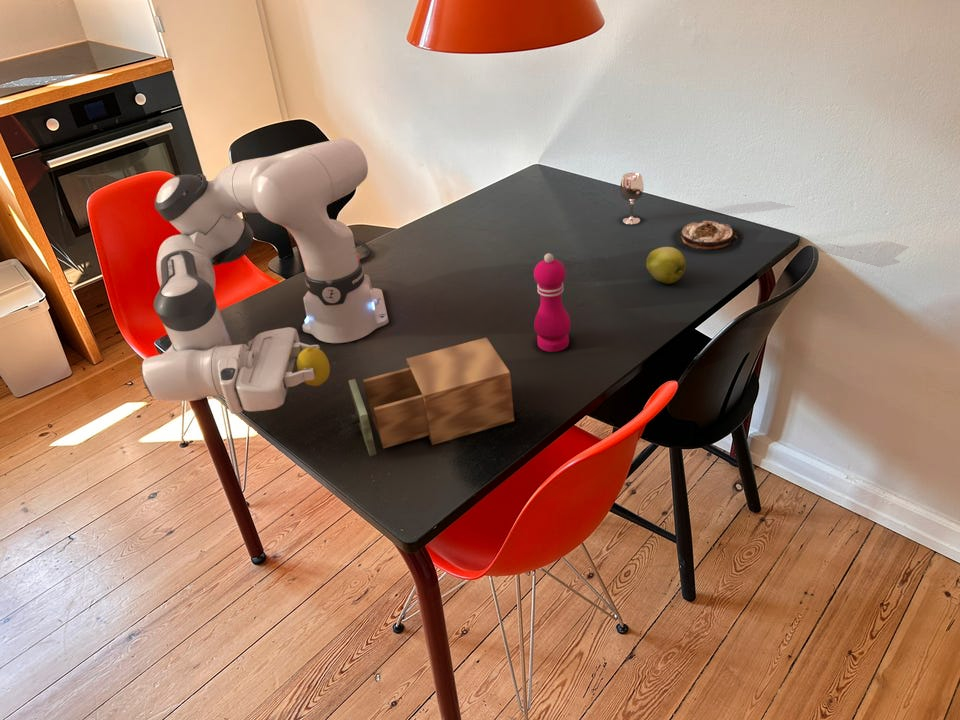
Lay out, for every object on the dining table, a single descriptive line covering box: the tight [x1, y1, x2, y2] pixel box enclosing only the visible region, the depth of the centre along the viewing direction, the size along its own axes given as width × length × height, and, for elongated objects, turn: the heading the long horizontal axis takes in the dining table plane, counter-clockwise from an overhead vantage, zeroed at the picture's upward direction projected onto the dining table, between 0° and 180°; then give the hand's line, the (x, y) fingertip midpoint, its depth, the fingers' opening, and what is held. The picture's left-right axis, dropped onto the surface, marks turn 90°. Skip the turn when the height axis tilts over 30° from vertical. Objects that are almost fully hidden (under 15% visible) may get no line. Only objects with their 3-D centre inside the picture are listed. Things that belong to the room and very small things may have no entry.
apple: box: [645, 246, 687, 285], centre depth 167 cm, size 8×9×8 cm
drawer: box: [347, 367, 430, 457], centre depth 132 cm, size 15×11×9 cm
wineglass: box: [619, 172, 645, 225], centre depth 194 cm, size 6×6×12 cm
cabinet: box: [405, 337, 515, 446], centre depth 135 cm, size 15×12×11 cm
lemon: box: [296, 347, 331, 387], centre depth 133 cm, size 6×6×8 cm
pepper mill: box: [533, 252, 572, 353], centre depth 148 cm, size 7×7×20 cm
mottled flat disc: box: [680, 219, 738, 251], centre depth 184 cm, size 15×15×4 cm
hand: (317, 361), depth 133 cm, fingers closed on lemon, 5 cm apart
